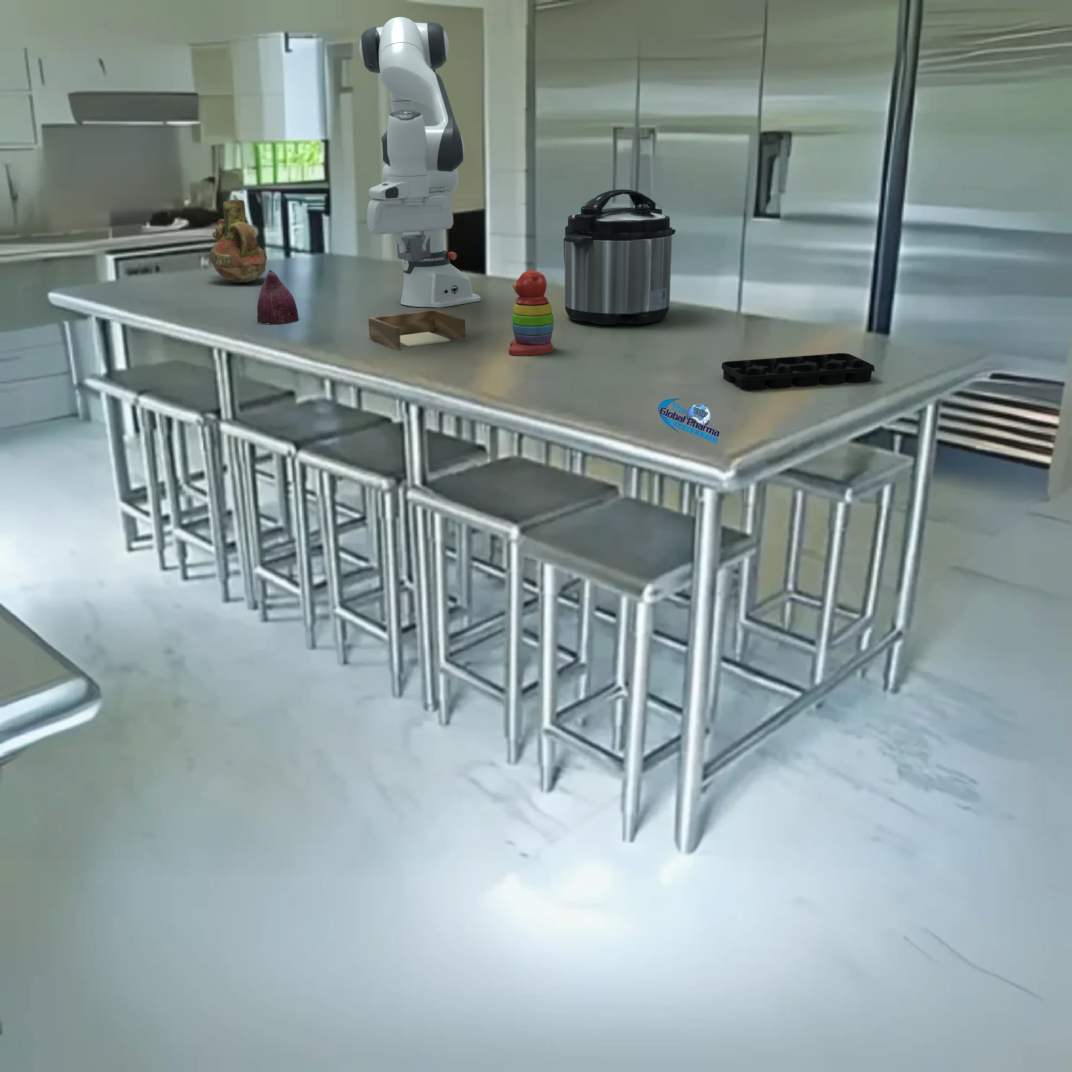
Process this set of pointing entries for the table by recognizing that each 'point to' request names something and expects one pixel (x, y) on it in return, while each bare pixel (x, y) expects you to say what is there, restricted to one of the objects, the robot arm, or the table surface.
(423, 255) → the bracket
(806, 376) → the black plastic tray
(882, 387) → the table surface
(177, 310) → the table surface
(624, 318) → the pressure cooker
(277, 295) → the vegetable
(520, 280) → the stacking bear
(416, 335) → the pad
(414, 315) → the bay
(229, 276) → the ceramic vessel
